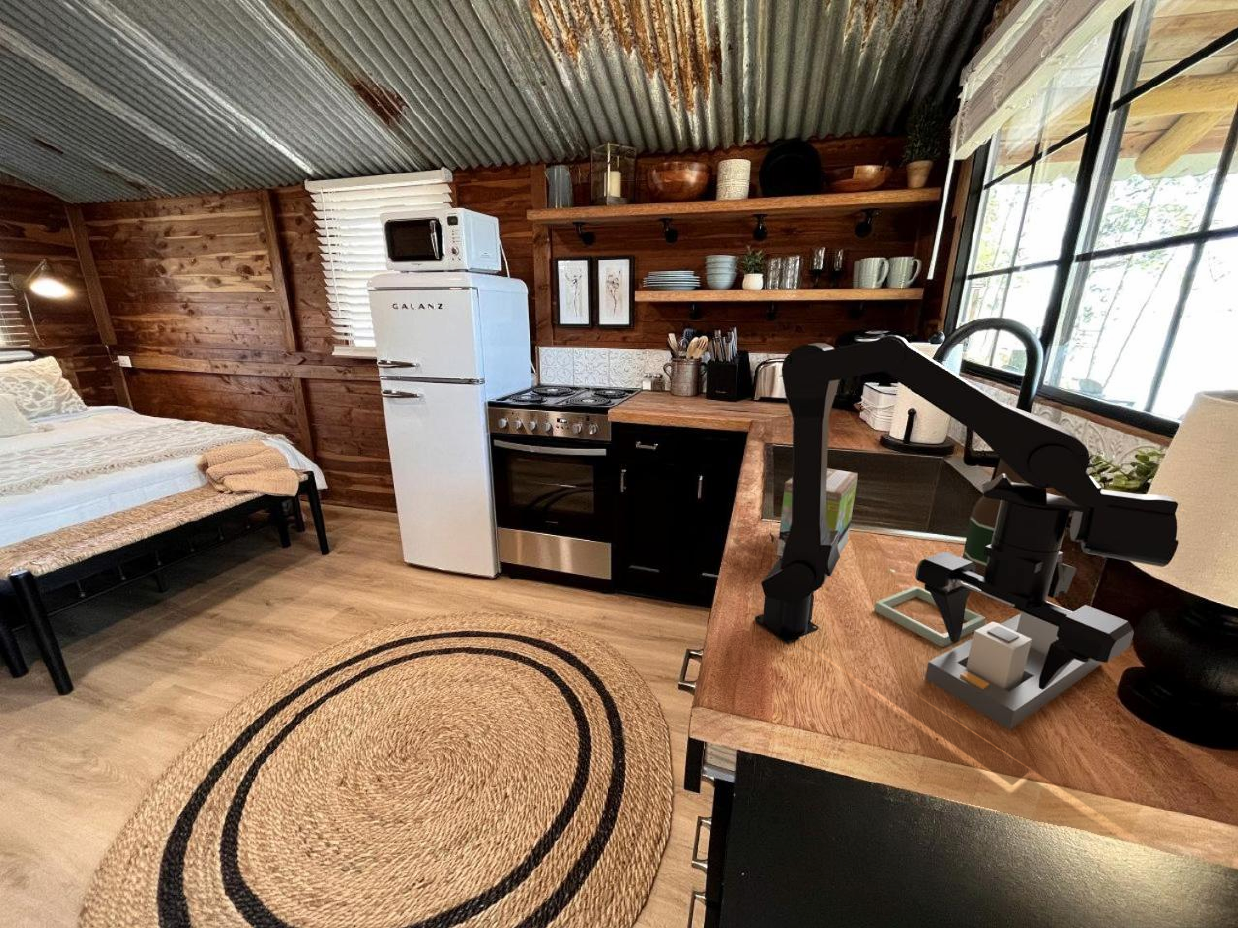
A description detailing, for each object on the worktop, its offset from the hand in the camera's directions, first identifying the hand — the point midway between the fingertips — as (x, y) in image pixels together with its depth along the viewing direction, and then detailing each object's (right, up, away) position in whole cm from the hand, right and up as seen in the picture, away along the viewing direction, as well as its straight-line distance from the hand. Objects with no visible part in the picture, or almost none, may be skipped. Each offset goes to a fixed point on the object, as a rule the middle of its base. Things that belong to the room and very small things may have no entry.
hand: (995, 663), depth 58 cm
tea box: (-6, +7, +38) cm, 39 cm away
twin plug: (+10, -2, +6) cm, 11 cm away
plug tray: (+1, 0, +15) cm, 15 cm away
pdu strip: (+6, -3, +4) cm, 8 cm away
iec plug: (0, -3, +1) cm, 3 cm away
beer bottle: (+18, +3, +25) cm, 31 cm away
